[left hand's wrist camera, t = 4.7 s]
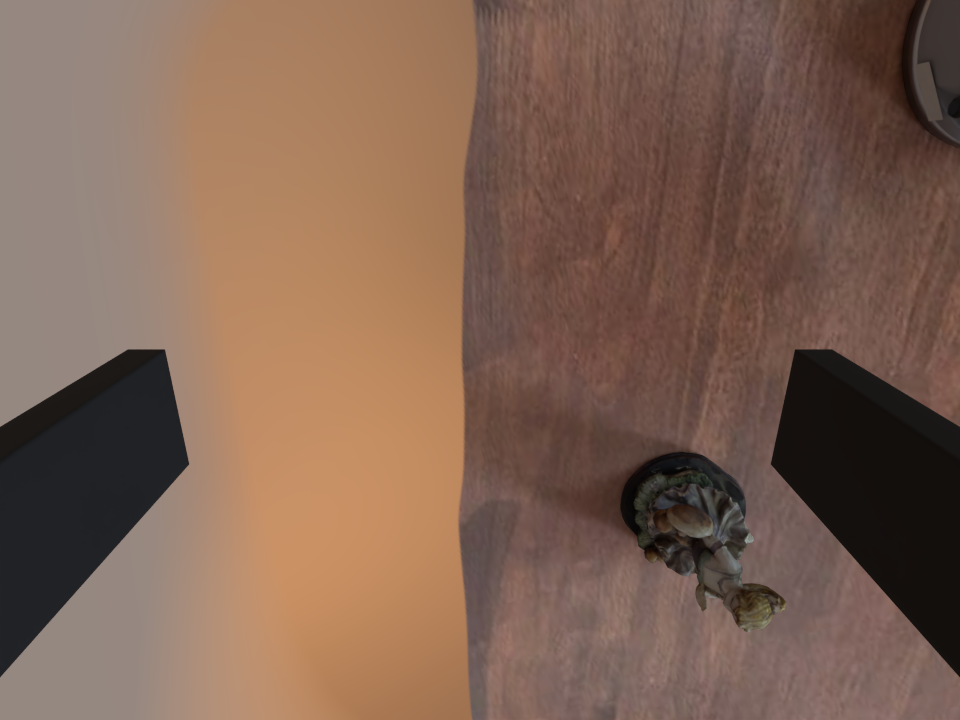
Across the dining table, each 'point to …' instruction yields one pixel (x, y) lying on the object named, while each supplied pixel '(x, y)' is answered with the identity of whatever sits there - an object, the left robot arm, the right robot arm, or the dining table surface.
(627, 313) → the dining table surface
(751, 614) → the figurine
